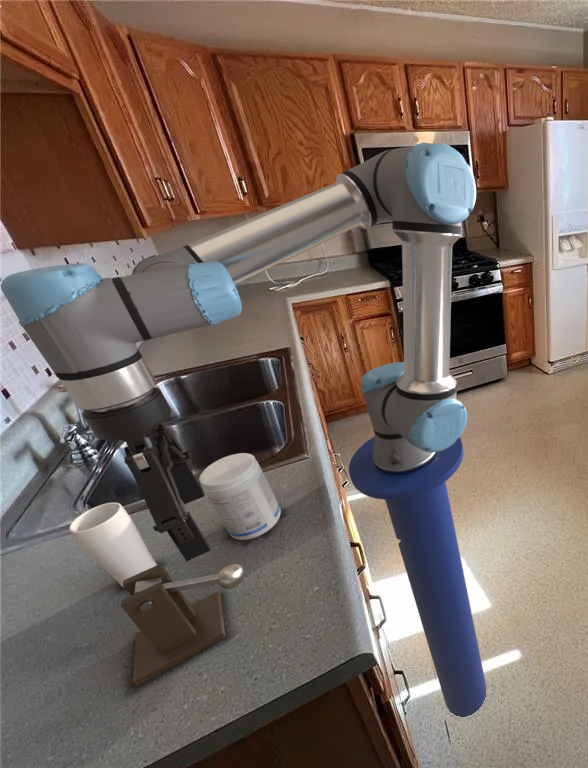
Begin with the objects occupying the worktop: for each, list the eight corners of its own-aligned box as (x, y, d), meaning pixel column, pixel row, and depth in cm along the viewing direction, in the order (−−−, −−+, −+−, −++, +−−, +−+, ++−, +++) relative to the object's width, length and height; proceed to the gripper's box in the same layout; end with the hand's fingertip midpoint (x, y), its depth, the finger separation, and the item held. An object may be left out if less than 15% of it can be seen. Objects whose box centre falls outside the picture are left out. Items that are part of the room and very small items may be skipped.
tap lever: (241, 575, 68) (244, 557, 68) (244, 590, 66) (247, 571, 65) (134, 595, 60) (136, 574, 59) (132, 614, 57) (134, 592, 56)
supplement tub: (254, 504, 90) (227, 450, 83) (292, 508, 88) (267, 453, 81) (218, 540, 81) (184, 483, 74) (259, 545, 79) (228, 487, 72)
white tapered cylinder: (109, 585, 74) (59, 525, 67) (151, 556, 79) (109, 497, 72) (129, 599, 71) (79, 537, 64) (171, 567, 76) (130, 507, 69)
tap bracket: (220, 595, 70) (187, 543, 64) (225, 637, 64) (188, 582, 58) (139, 637, 65) (94, 584, 59) (136, 687, 58) (85, 633, 52)
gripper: (94, 374, 57) (165, 491, 67) (57, 459, 39) (163, 601, 49) (160, 358, 61) (219, 470, 71) (155, 428, 43) (235, 566, 53)
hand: (196, 524), depth 60 cm, fingers open, 13 cm apart
